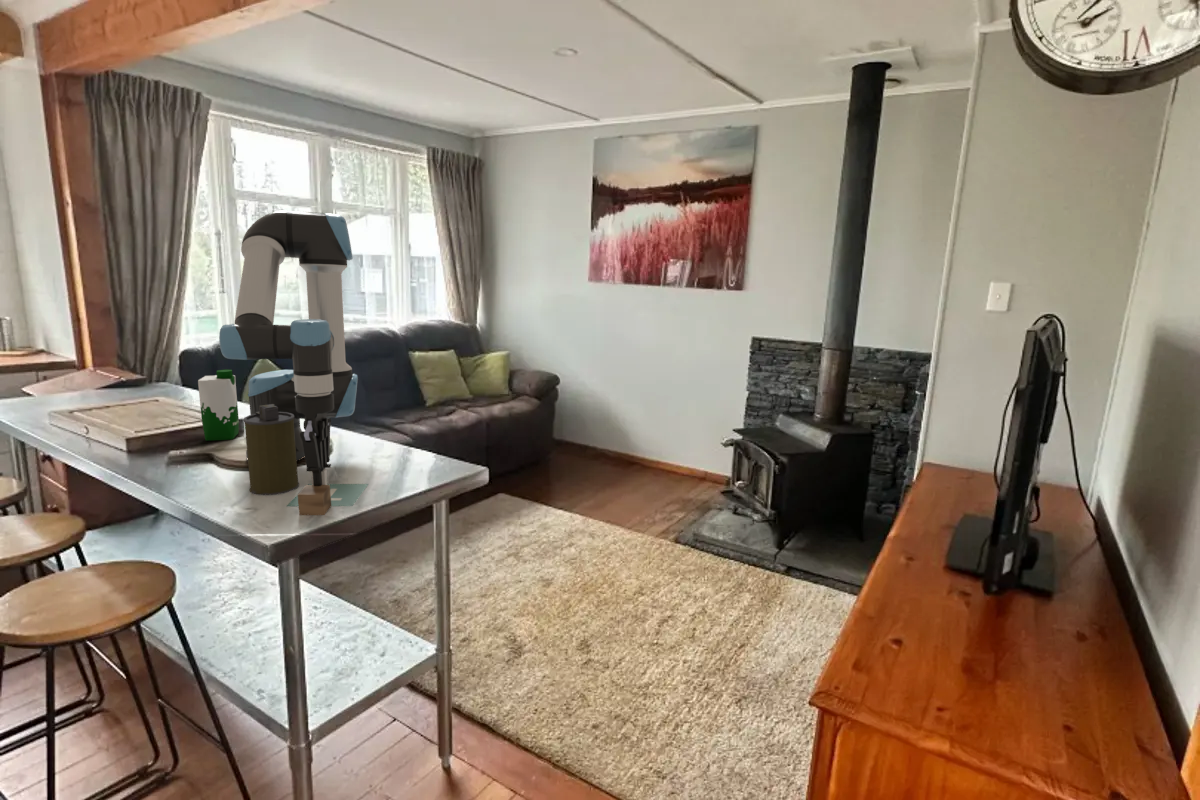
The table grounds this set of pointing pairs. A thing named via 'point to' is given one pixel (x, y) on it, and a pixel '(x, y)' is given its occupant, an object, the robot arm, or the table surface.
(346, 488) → the letter card
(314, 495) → the block
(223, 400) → the milk carton
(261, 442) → the canister
